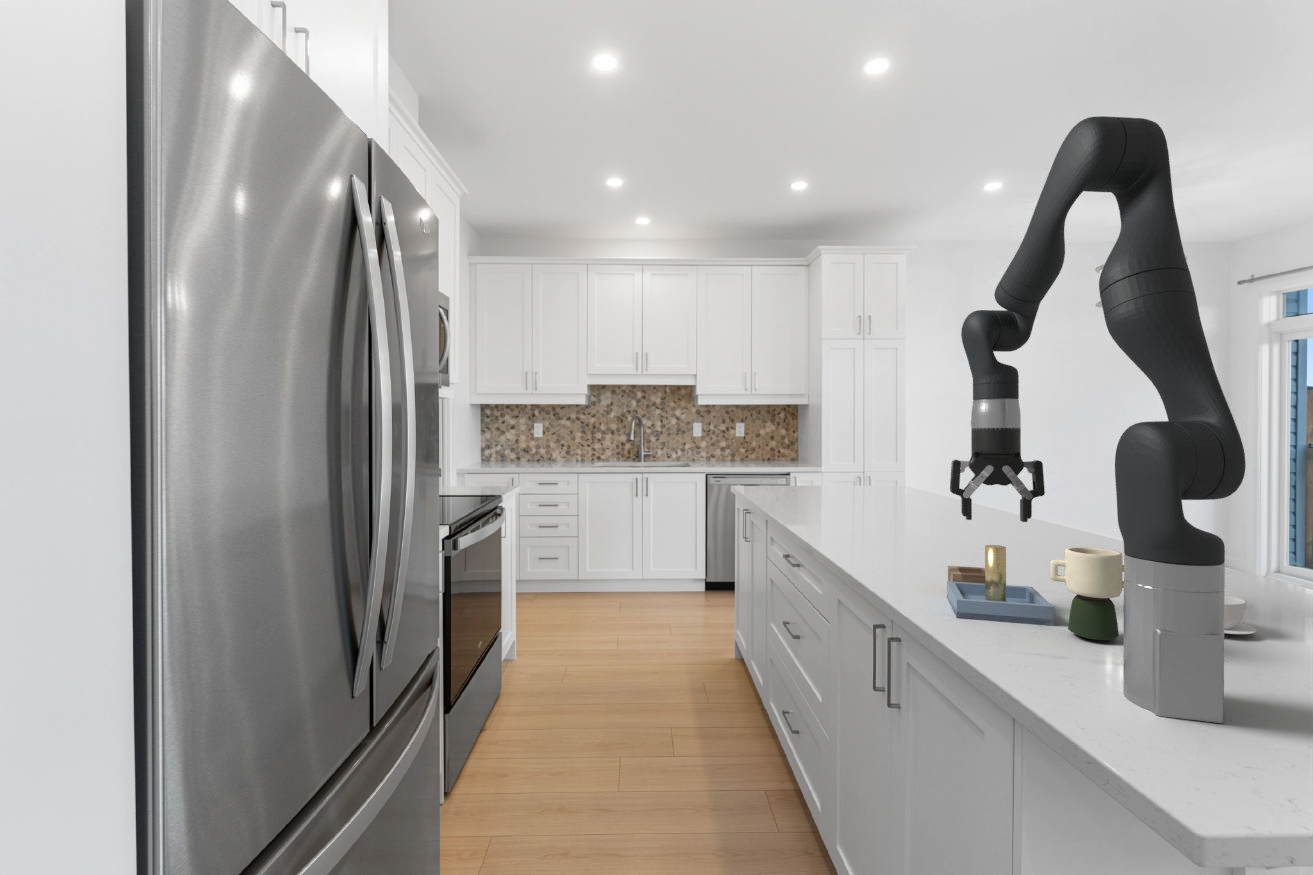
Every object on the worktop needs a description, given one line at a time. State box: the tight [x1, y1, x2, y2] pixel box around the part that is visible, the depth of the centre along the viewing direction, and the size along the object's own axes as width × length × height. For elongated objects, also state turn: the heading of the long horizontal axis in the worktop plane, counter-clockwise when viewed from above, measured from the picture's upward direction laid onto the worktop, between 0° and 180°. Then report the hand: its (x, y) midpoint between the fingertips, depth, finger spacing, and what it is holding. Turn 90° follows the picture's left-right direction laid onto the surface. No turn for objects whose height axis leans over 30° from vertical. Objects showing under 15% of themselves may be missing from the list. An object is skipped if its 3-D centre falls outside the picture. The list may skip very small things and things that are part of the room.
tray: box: [946, 580, 1054, 627], centre depth 111 cm, size 14×14×3 cm
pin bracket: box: [947, 565, 985, 584], centre depth 124 cm, size 8×8×4 cm
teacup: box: [1224, 594, 1258, 635], centre depth 102 cm, size 10×10×5 cm
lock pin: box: [984, 544, 1007, 602], centre depth 111 cm, size 3×3×10 cm
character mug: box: [1049, 546, 1124, 641], centre depth 96 cm, size 11×7×13 cm, turn 59°
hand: (996, 520), depth 111 cm, fingers open, 8 cm apart
